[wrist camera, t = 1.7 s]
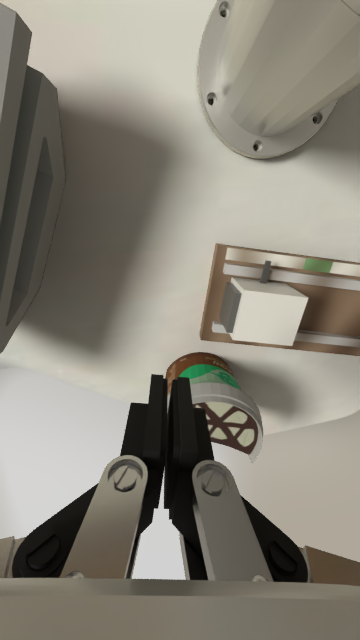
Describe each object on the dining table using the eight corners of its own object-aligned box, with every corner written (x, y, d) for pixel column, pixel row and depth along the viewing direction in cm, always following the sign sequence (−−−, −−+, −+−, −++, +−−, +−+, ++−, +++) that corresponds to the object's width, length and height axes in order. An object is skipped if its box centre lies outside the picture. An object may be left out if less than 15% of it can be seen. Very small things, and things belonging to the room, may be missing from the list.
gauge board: (199, 334, 32) (206, 363, 26) (215, 243, 27) (228, 252, 21) (377, 352, 34) (422, 383, 28) (418, 270, 29) (481, 285, 24)
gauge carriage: (217, 319, 29) (226, 339, 24) (230, 254, 26) (243, 263, 22) (273, 325, 30) (292, 346, 25) (291, 262, 27) (317, 272, 22)
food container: (260, 368, 34) (293, 425, 25) (234, 400, 36) (256, 465, 27) (180, 327, 31) (184, 376, 22) (156, 365, 33) (152, 423, 24)
